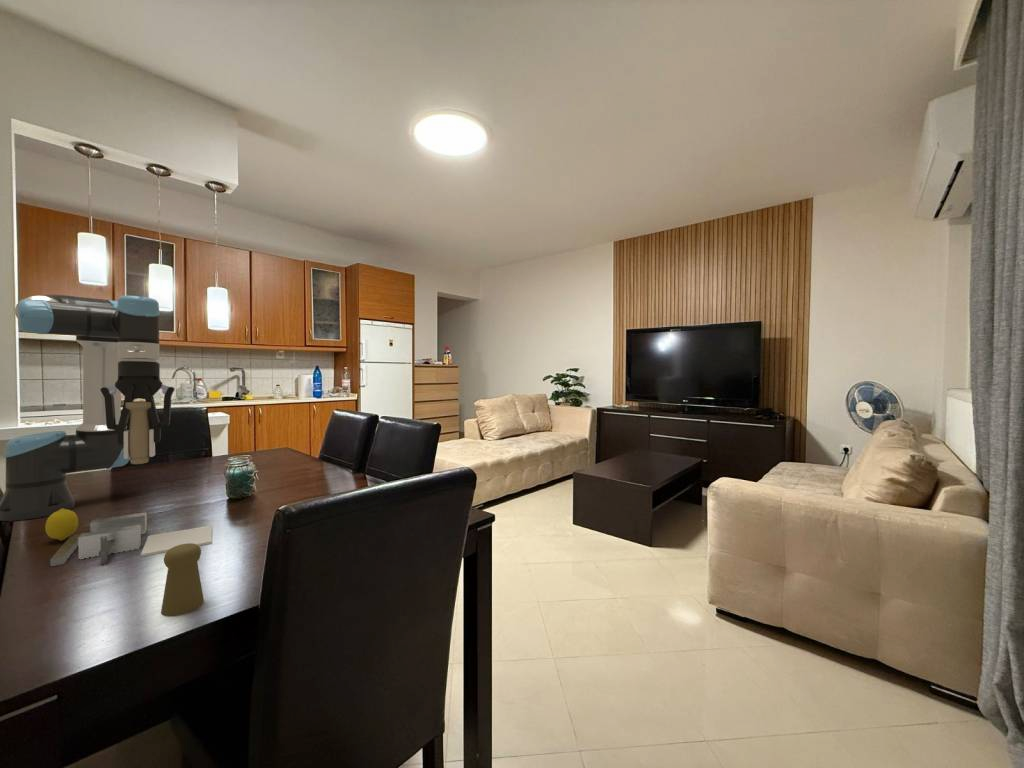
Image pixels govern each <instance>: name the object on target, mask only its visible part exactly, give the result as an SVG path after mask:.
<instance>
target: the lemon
mask: <svg viewBox="0 0 1024 768" xmlns="http://www.w3.org/2000/svg"><path fill="white" fill-rule="evenodd" d="M78 517H79V516H78V515H77V514H76V512H75V511H73V510H72V509H70V510H66V509H64V508H63V509H60V510H59V511H56V512H54V513H53V514H51V515H49V516H48V517H47V520H46V522H45V526H44V528H45V533H46V535H47V536H48V537H49V538H50V539H54V540H58V541H61V542H63V541H65V540H66V539H68V538H69V537H70V536H71V535H74V533H75V532H76V531H77V529H78V526H79V518H78ZM62 540H63V541H62Z"/></svg>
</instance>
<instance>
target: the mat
mask: <svg viewBox="0 0 1024 768" xmlns="http://www.w3.org/2000/svg"><path fill="white" fill-rule="evenodd" d="M212 540H213V524H212V525H207V526H206V525H204V526H201V527H194V528H188V529H183V530H182V529H181V530H175V531H168V532H164V533H156V534H151V535H148V536H147V538H146V541H145V543H144V545H143V548H142V551H141V553H140V557H148V556H153V555H158V554H163V553H165V554H166V552H167V551H168V550H169V549H171V548H173V547H175V546H178V545H181V544H188V543H193V544H197V545H198V546H199V547H203V546H208V545H212V544H213V541H212ZM207 544H208V545H207Z"/></svg>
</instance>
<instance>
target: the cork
mask: <svg viewBox="0 0 1024 768" xmlns="http://www.w3.org/2000/svg"><path fill="white" fill-rule="evenodd" d="M201 554H202V550H201V546H198V545H197V544H193V543H188V544H181V545H178V546H175V547H173V548H171V549H169V550H168V551H167V552H165V554H164V557H163V564H164V566H165V567H167V573H166V577H165V578H166V579H165V585H164V591H163V598H162V605H161V609H160V610H161V611H160V614H161V615H162V616H163V617H170V616H171V617H178V616H182V615H185V613H186V614H188V612H189V613H191V612H193V611H196V610H198V609H199V608H200V607H201V606H202V605H203V604H204V602H205V599H204V593H203V586H202V582H201V577H200V570H199V564H198V561H199V560H200V558H201V556H202V555H201ZM199 606H200V607H199ZM198 607H199V608H198Z"/></svg>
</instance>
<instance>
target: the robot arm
mask: <svg viewBox="0 0 1024 768" xmlns="http://www.w3.org/2000/svg"><path fill="white" fill-rule="evenodd" d="M14 314H15V316H16V319H17V326H18V329H19V330H20V332H23V333H30V334H37V335H60V336H75V341H76V342H77V343H78V344H79V345H81V346H82V348H83V349H82V353H83V354H82V361H83V362H82V372H83V374H82V407H83V408H82V423H81V424H80V425H78V426H77V427H76V428H75V434H69V435H68V434H67V432H66V431H64V430H54V431H45V432H39V433H38V432H37V433H32V434H25V435H21V436H17V437H14V438H12V439H10V440H8V441H7V442H6V444H5V453H4V455H3V458H5V491H4V493H3V495H2V497H1V500H0V521H2V522H3V521H4V522H11V521H12V522H13V521H24V520H30V519H31V520H32V519H38V518H43V517H49V516H50V515H51V514H53V513H54V512H56V511H59V510H60V509H63V508H64V509H66V510H72V509H73V508H75V498H74V496H73V494H72V492H71V491H70V488H69V486H68V485H67V474H73V473H80V472H88V471H96V470H105V469H106V470H110V469H112V468H118V467H120V468H121V467H123V466H125V465H126V464H128V463H129V461H130V459H131V457H130V453H129V429H128V424H129V423H128V422H129V420H130V411H129V409H127V408H126V406H125V403H126V402H134V400H136V399H141V400H144V401H146V402H151V408H149V409H148V415H149V417H150V421H151V425H152V428H149V455H148V457H149V458H153V457H154V456H156V443H160V441H161V440H162V439H161V438H162V437H161V436H162V433H161V431H162V428H165V427H168V426H169V425H170V424H171V415H172V414H171V413H172V396H173V395H174V392H175V390H176V389H175V387H174V386H169V385H165V384H163V382H162V380H161V379H160V377H161V376H160V374H161V372H160V370H161V369H160V367H161V366H160V363H159V362H157V361H159V360H160V355H161V354H160V315H161V312H160V305H159V301H158V300H156V299H155V298H151V297H148V296H139V295H121V296H119V297H118V298H117V301H116V300H112V299H111V300H110V299H103V298H94V297H93V298H92V297H85V296H83V297H82V296H73V295H67V294H65V295H64V294H38V295H31V296H27V297H25V298H23V299H21V300H19V301H18V302H17V304H16V305H15V308H14ZM160 389H161V390H162V391H161V393H162V394H163V395H164V396H163V411H162V422H161V420H160V418H159V414H158V411H157V407H156V406H157V405H156V403H155V402H156V401H155V397H154V396H155V395H156V394H157V393H158V391H160ZM122 395H123V396H124V400H123V405H122V403H121V401H122ZM121 407H122V409H121Z"/></svg>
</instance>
